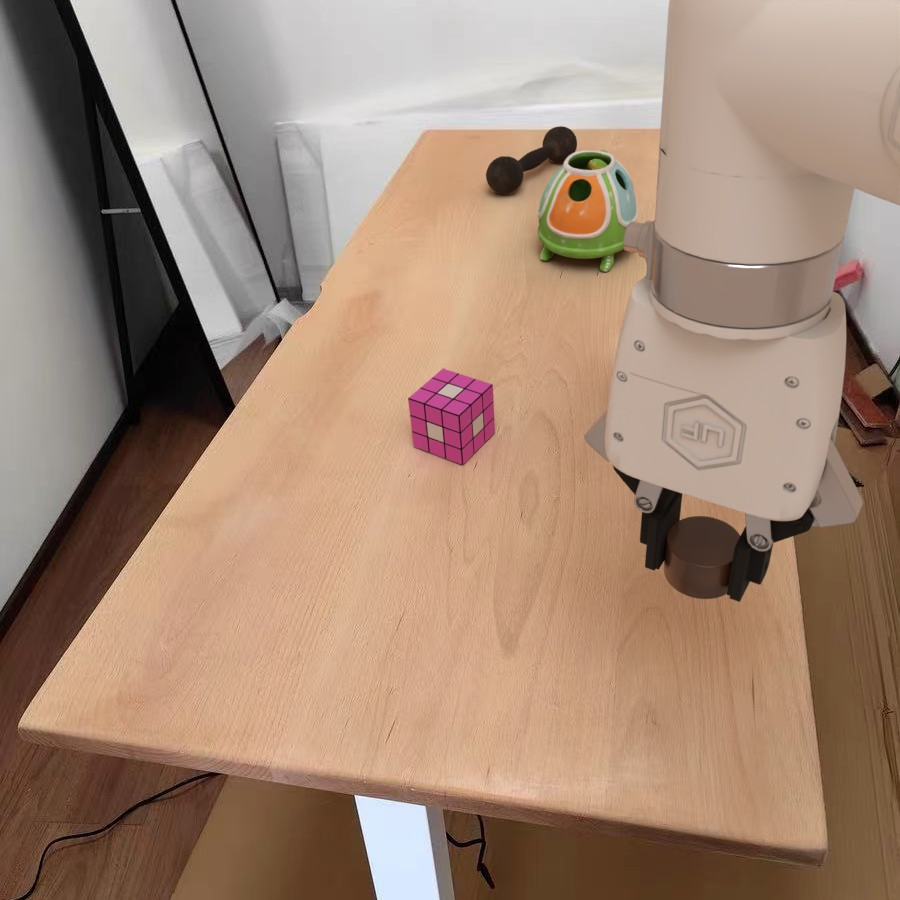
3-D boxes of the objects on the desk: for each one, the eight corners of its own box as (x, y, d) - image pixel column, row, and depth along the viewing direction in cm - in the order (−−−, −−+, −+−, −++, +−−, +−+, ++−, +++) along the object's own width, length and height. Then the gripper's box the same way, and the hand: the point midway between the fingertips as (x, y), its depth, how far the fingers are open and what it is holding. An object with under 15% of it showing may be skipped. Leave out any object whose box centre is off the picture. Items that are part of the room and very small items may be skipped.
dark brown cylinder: (747, 562, 49) (753, 530, 47) (723, 609, 46) (728, 577, 44) (679, 538, 50) (682, 507, 49) (652, 583, 48) (654, 551, 46)
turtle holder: (650, 219, 118) (657, 130, 111) (622, 279, 105) (628, 184, 98) (562, 211, 122) (563, 125, 114) (524, 269, 109) (523, 176, 101)
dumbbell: (555, 154, 140) (553, 120, 137) (584, 157, 137) (582, 123, 134) (480, 197, 128) (476, 161, 125) (510, 201, 125) (506, 164, 122)
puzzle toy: (412, 447, 82) (407, 397, 78) (446, 415, 86) (442, 367, 82) (462, 465, 79) (459, 416, 76) (495, 433, 83) (493, 383, 79)
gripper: (526, 268, 38) (535, 559, 50) (941, 353, 30) (841, 677, 42) (600, 205, 43) (593, 484, 54) (975, 265, 35) (877, 578, 46)
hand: (701, 566), depth 48 cm, fingers closed on dark brown cylinder, 4 cm apart
